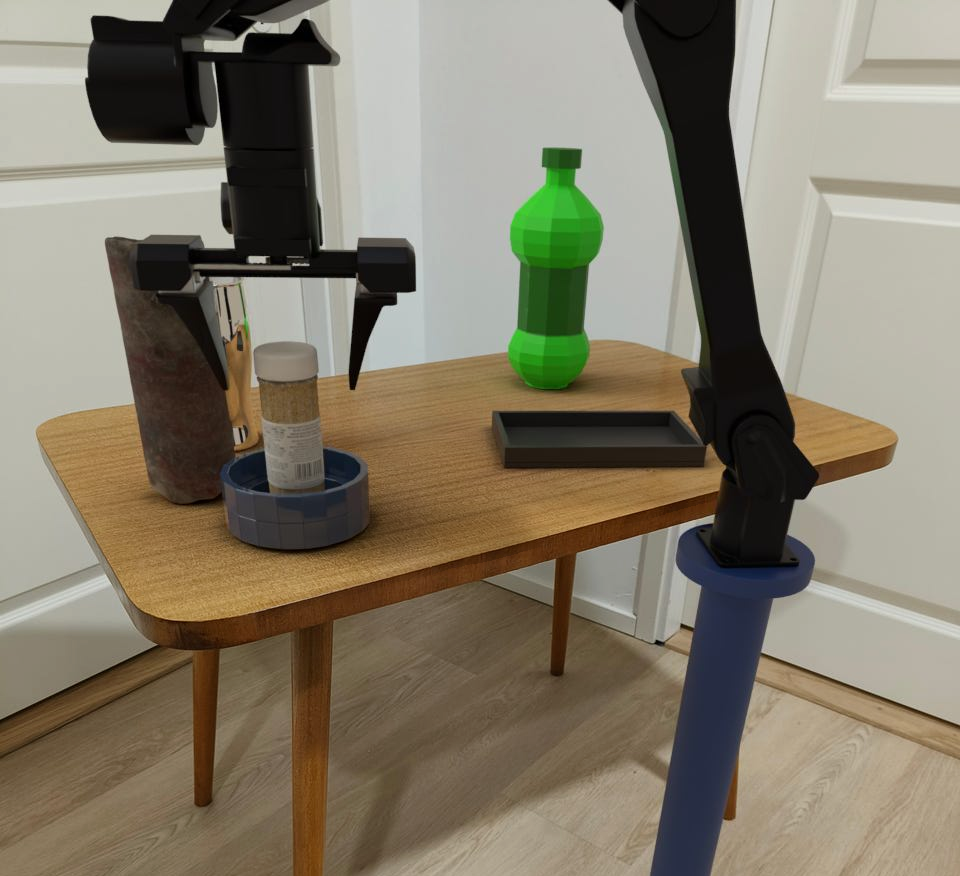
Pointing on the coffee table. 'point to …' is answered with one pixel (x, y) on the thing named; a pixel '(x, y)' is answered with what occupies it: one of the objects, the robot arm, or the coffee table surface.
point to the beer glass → (237, 355)
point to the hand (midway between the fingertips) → (289, 388)
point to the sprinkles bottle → (290, 416)
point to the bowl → (296, 503)
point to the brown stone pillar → (170, 390)
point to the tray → (595, 439)
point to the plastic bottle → (554, 274)
